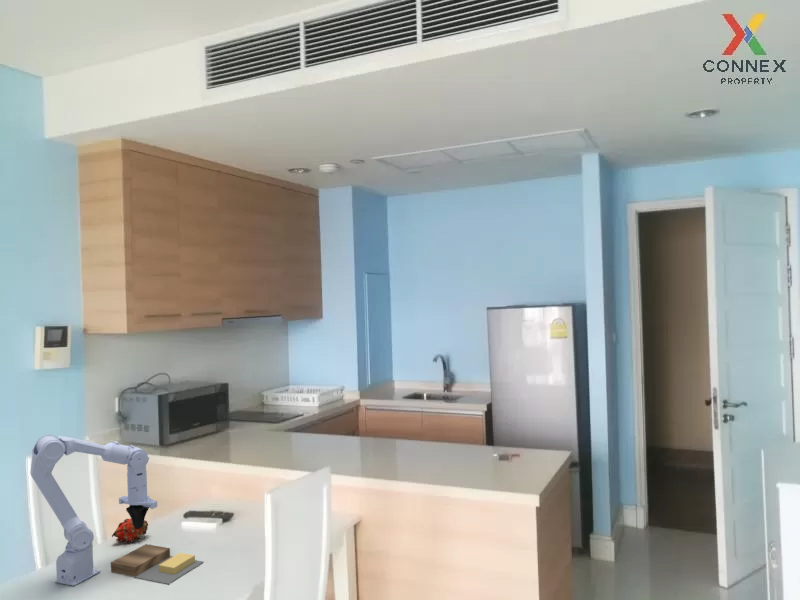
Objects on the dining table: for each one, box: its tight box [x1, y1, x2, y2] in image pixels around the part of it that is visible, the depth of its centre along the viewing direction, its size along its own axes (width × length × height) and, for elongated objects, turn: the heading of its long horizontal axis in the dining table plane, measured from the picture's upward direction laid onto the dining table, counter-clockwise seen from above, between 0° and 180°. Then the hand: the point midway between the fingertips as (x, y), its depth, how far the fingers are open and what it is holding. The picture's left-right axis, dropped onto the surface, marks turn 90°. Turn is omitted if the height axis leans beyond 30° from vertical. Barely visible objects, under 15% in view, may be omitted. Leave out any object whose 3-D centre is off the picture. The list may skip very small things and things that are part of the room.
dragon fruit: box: [111, 517, 149, 543], centre depth 206 cm, size 8×8×12 cm
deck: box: [110, 543, 171, 578], centre depth 187 cm, size 14×10×3 cm
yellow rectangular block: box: [159, 552, 196, 574], centre depth 185 cm, size 9×6×2 cm, turn 158°
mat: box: [134, 555, 205, 586], centre depth 183 cm, size 15×13×1 cm
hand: (138, 528), depth 192 cm, fingers closed
